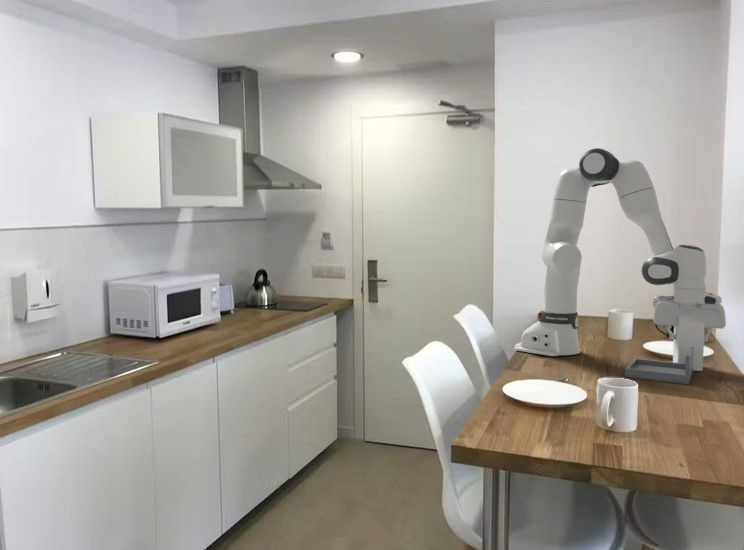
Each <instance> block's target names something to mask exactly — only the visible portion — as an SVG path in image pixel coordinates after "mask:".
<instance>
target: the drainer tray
mask: <svg viewBox="0 0 744 550" xmlns="http://www.w3.org/2000/svg"><path fill="white" fill-rule="evenodd" d="M693 357H694V347H690V349H689V351H688V353H687V355H686V364H684V363H675V362H673V361H665V360H664V361H663V360H655V359H644V358H634V357H633V358H632V360H631V361H630V362H629V363H628V364H627V366H626V367H624V377H626V378H633V379H639V380H641V379H643V380H649V381H656V382H667V383H674V384H683V385H689V384H690V381H691V379H692V377H693V373H694V370H693Z"/></svg>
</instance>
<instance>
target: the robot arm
mask: <svg viewBox="0 0 744 550" xmlns="http://www.w3.org/2000/svg"><path fill="white" fill-rule="evenodd" d="M608 184H612V185H613V187H614V188H615V192H616V195H617V198H618V201H619V205H620V207H621V209H622V211H623V213H624V216H626V219H628V220H630V221H631V222H633V223H635V224H636V225H637V226H639V228H640V229H641V230H642V231H643V233H644V234H645V236H646V239H647V242H648V245H649V248H650V251H651V254H652V256H651V257H649V258H647V259H646V260H645V261H644V262H643V264H642V267H641V275H642V278H643V279H644V280H645V282H647V283H648V284H650V285H654V286H665V285H673V295H670V296H669V295H667V296H665V295H658V296H656V297H655V298H654V299H653V300H652V307H653V309H654V311H653V312H654V313H653V322H654V324H657V326H658V325H659V326H660V325H662V326H665V330H666V332H667V331H668V333H669V337H668V338H669V340H673V341H674V340H675V333H672V332H671V330H670V328H671V325H673V326H677V324H678V321H679V318H678V315H681V316H684V317H688V318H691V319H694V320H698V321H701V322H704V323H705V328H706V332H707V333H706V334H705V335H704V343H708V342H709V336H710V335H711V333H712V332H713V329H720V330H721V329H724V328H725V327H726V325H727V324H726V323H727V320H726V319H727V317H726V312H725V311H726V310H725V308H724V306H723V305H722V300H723V298H722V296H721V295H717V294H714V293H711V292H708V291H706V289H707V286H706V283H705V278H706V275H707V259H706V253H705V251H704V250H703V249H702V248H701V247H698V246H696V245H695V246H694V245H689V244H680V245H677V246H676V247H674V248H673V245H672V241H671V240H670V236H669V234H668V232H667V229H666V225H665V223H664V221H663V217H662V213H661V210H660V206H659V201H658V197H657V194H656V191H655V187H654V184H653V182H652V179H651V177H650V174H649V172H648V170H647V168H646V166H645V165H644V164H643V163H642V162H641V161H638V160H634V159H633V160H628V161H627V160H626V161H623V162H620V161H619V159H618V158H617V157H616V156H615V155H614V154H613V153H612V152H610V151H608V150H606V149H604V148H599V147H598V148H592V149H589V150H587V151H586V152H585V153H584V154H582V156H581V157H580V160H579V163H578V167H577V168H567V169H565V170H563V171H562V172H560V173H559V176H558V178H557V182H556V185H555V187H554V192H553V198H552V205H551V212H550V218H549V223H548V226H547V227H548V228H547V232H546V235H545V240H544V245H543V249H542V257H541V258H542V261H543V263H544V265H545V266H546V273H545V275H546V276H545V282H544V287H543V309H542V310H540V311H539V312H538V313H537V316H536V317H537V320H538V321H536V322H535V323H533V324H532V325H530V326H529V327H527V329H525V330H524V331H523V332H522V335H521V339H520V342H518V343H516V344H515V345H514V350H515V351H518V352H525V353H530V354H537V355H543V356H550V357H558V356H572V355H574V356H575V355H578V354H580V353H581V349H580V345H579V344H580V343H579V340H578V331H577V330H578V329H577V328H578V326H579V315H578V311H577V306H578V305H577V304H578V303H577V302H578V286H579V280H580V273H581V266H582V265H581V264H582V256H583V255H582V252H581V250H580V249H579V247H578V246H577V245H578V241H579V237H580V234H581V230H582V229H583V226H584V219H585V213H586V207H587V199H588V194H589V191H590V189H591V187H592V188H594V187H598V186H604V185H608Z"/></svg>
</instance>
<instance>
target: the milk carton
mask: <svg viewBox="0 0 744 550" xmlns="http://www.w3.org/2000/svg"><path fill="white" fill-rule="evenodd" d="M678 318H679V321H678V324H677V326H674V333H675V340H673V344H672V345H673V348H672V350H673V351H672V362H675V363H684V364H686V355H687V353H688V351H689V349H690V347H694V357H693V372H695V371H696V372H697V371H698V372H703V369H704V350H705V342H704V336H705V323H704V322H701V321H698V320H694V319H691V318H688V317H684V316H681V315H678Z"/></svg>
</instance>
